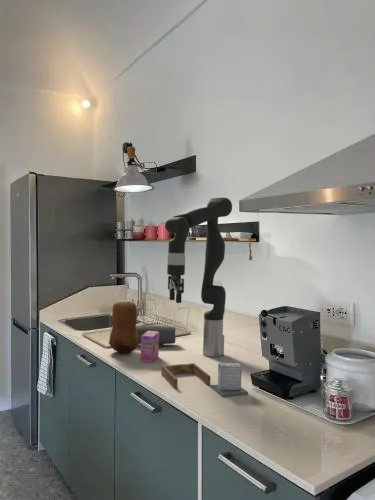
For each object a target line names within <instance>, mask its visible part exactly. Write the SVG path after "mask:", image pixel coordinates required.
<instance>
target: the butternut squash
mask: <svg viewBox="0 0 375 500" xmlns="http://www.w3.org/2000/svg"><path fill="white" fill-rule="evenodd" d="M137 310H138V309H137V305H136V303H135V302H134V301H133V300H124V299H119V300H117V301H115V302H114V303H113V304H112V316H111V317H112V318H111V321H110V322H111V325H112V328H111V331H110V334H109V340H108V344H109V345H110V347H111V348H112V349H113V350H114V351H115V352H118V353H122V354H130V353H131V352H134V351H135V350H137V348H138V347H139V345H140V344H139V336H138V333H137V330H136V326H137V319H138V312H137Z"/></svg>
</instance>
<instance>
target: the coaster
mask: <svg viewBox="0 0 375 500" xmlns="http://www.w3.org/2000/svg"><path fill="white" fill-rule="evenodd" d="M210 388H211V389H212V390H214V392H216V393H218V395H219V396H221V397H222V398H225V397H228V398H229V397H235V396H236V397H237V396H243V395H244V396H245V395H249V391H248V390H246V389H244V388H243V387H242V386H241V390H219V388H218V384H210Z"/></svg>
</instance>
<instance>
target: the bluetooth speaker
mask: <svg viewBox="0 0 375 500" xmlns="http://www.w3.org/2000/svg"><path fill="white" fill-rule="evenodd" d="M136 330H137V333H138V336H139V344H138V345H141V336H142V335H143V334H144V333H146V332H147V331H157V332H159V347H164V345H171V344H173V345H174V344H176V326H165V325H162V326H161V325H139V326H138V325H136Z"/></svg>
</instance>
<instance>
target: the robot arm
mask: <svg viewBox="0 0 375 500" xmlns="http://www.w3.org/2000/svg"><path fill="white" fill-rule="evenodd" d="M232 210H233V203H232V201H231V200H230V199H229V198H228V197H213V198H210V199H209V200H208V201H207V204H206V206H205V207H200V208H195V209H193V210H190V211H188V212H186V213H182V214H178V215H174V216H171V217H169V218H168V219H167V220H166V221H165V224H164V227H165V230H166V231H167V233H170V234H175V237H174V238H172V239H170V240H169V241H168V250H167V251H168V253H167V254H168V255H167V267H166V268H167V271H166V274H167V275H168V277H167V289H168V291H169V301H175V303H177V304H181V303H182V296H183V294H184V293H185V279H184V278H182V276H185V273H186V249H185V248H186V242H187V240H188V239H187V238H188V234H189V231H190V229H191V228H195V227H197V226H199V225H202V224H203V223H206V243H205V258H204V272H203V279H202V285H201V291H200V298H201V301H202V303H204V304H207V305H213V306H212V309H211V310H207V311H205V312H204V313H203V337H202V338H203V340H202V355H203V356H205V357H209V358H216V357H217V358H219V357H222V356H225V335H224V334H223V333H224V316H225V311H226V310H225V309H226V299H227V298H226V297H227V292H226V289H225V287H224V286H222V285H217V284H214V279H215V275H216V273H217V271H218V269H219V268H220V266H221V265H222V263H224V260H225V255H226V254H225V252H226V251H225V250H226V244H225V240H224V238H223V235H222V233H221V232H220V229H219V218H225V217H228V216H229V215H230V214H231V213H232Z"/></svg>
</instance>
